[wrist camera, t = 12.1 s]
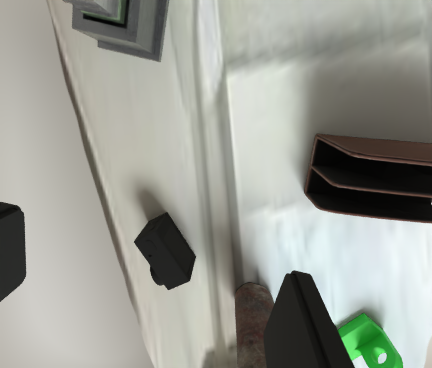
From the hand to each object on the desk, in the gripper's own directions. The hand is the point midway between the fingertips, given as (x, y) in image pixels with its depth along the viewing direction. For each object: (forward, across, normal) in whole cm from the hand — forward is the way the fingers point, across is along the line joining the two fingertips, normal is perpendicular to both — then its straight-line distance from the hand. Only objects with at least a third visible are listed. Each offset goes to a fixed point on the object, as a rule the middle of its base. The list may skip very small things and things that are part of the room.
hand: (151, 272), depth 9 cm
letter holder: (+33, -25, -1) cm, 41 cm away
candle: (+32, -14, +28) cm, 45 cm away
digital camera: (+33, +4, +20) cm, 38 cm away
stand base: (+32, +15, -14) cm, 38 cm away
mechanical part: (+33, -35, +32) cm, 58 cm away
